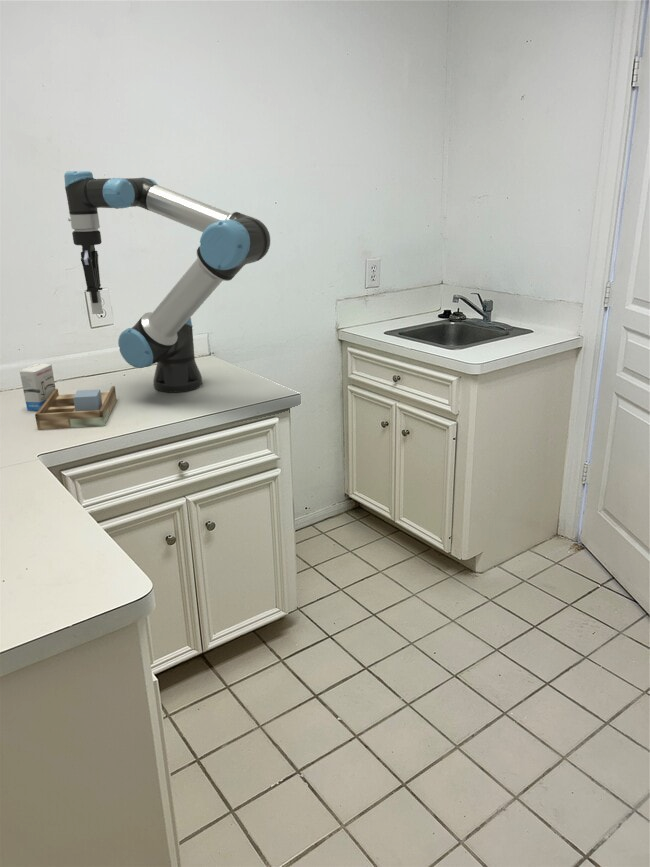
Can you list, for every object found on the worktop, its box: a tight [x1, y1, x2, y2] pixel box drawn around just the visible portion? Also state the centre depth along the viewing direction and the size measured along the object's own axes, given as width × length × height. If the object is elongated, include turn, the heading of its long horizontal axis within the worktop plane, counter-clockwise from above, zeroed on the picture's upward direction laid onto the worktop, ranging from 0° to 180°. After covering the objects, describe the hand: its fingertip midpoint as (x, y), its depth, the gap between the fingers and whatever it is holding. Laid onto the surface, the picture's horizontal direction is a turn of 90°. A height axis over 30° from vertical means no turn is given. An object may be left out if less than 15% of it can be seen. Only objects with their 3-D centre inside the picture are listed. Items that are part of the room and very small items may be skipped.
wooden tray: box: [34, 385, 117, 430], centre depth 180 cm, size 17×22×4 cm
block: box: [73, 389, 102, 411], centre depth 175 cm, size 6×6×5 cm
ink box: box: [19, 363, 57, 412], centre depth 185 cm, size 9×5×12 cm, turn 168°
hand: (97, 313), depth 190 cm, fingers closed
